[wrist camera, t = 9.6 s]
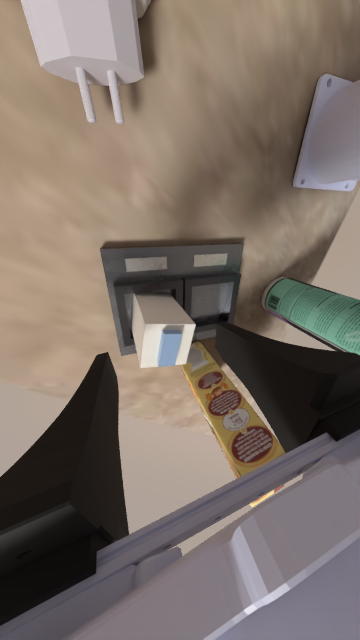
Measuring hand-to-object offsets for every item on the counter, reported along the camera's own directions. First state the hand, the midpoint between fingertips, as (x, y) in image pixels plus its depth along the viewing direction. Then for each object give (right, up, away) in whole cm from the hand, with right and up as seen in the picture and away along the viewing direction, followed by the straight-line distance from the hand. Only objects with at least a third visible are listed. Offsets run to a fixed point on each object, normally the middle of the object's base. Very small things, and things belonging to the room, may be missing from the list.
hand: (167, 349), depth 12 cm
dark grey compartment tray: (+1, +4, +10) cm, 11 cm away
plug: (-2, +3, +8) cm, 9 cm away
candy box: (+3, -5, +16) cm, 17 cm away
